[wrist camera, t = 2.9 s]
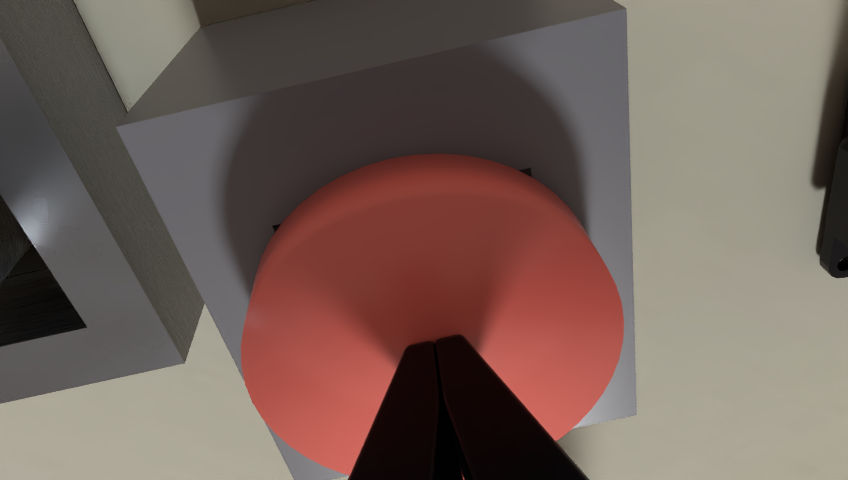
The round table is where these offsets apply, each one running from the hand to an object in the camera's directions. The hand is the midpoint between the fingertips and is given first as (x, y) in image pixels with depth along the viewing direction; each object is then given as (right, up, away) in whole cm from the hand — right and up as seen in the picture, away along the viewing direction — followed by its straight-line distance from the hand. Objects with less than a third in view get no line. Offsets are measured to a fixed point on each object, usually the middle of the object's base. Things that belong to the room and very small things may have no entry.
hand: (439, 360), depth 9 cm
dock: (-1, +4, +6) cm, 7 cm away
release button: (0, +2, +3) cm, 4 cm away
